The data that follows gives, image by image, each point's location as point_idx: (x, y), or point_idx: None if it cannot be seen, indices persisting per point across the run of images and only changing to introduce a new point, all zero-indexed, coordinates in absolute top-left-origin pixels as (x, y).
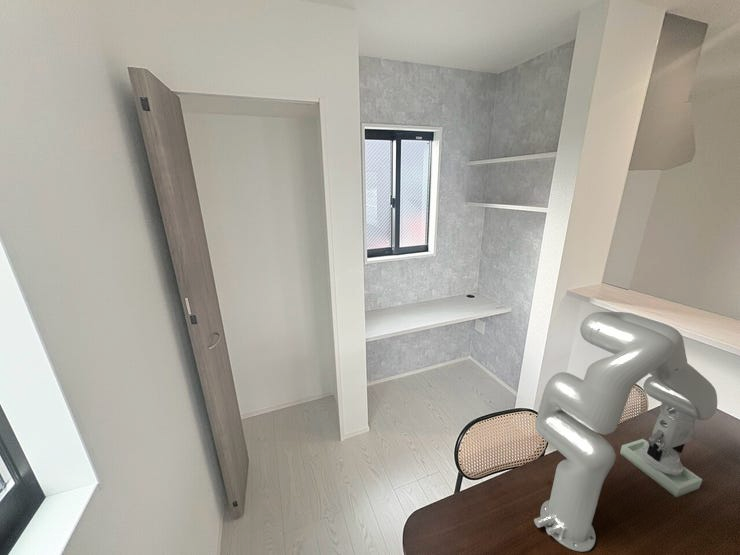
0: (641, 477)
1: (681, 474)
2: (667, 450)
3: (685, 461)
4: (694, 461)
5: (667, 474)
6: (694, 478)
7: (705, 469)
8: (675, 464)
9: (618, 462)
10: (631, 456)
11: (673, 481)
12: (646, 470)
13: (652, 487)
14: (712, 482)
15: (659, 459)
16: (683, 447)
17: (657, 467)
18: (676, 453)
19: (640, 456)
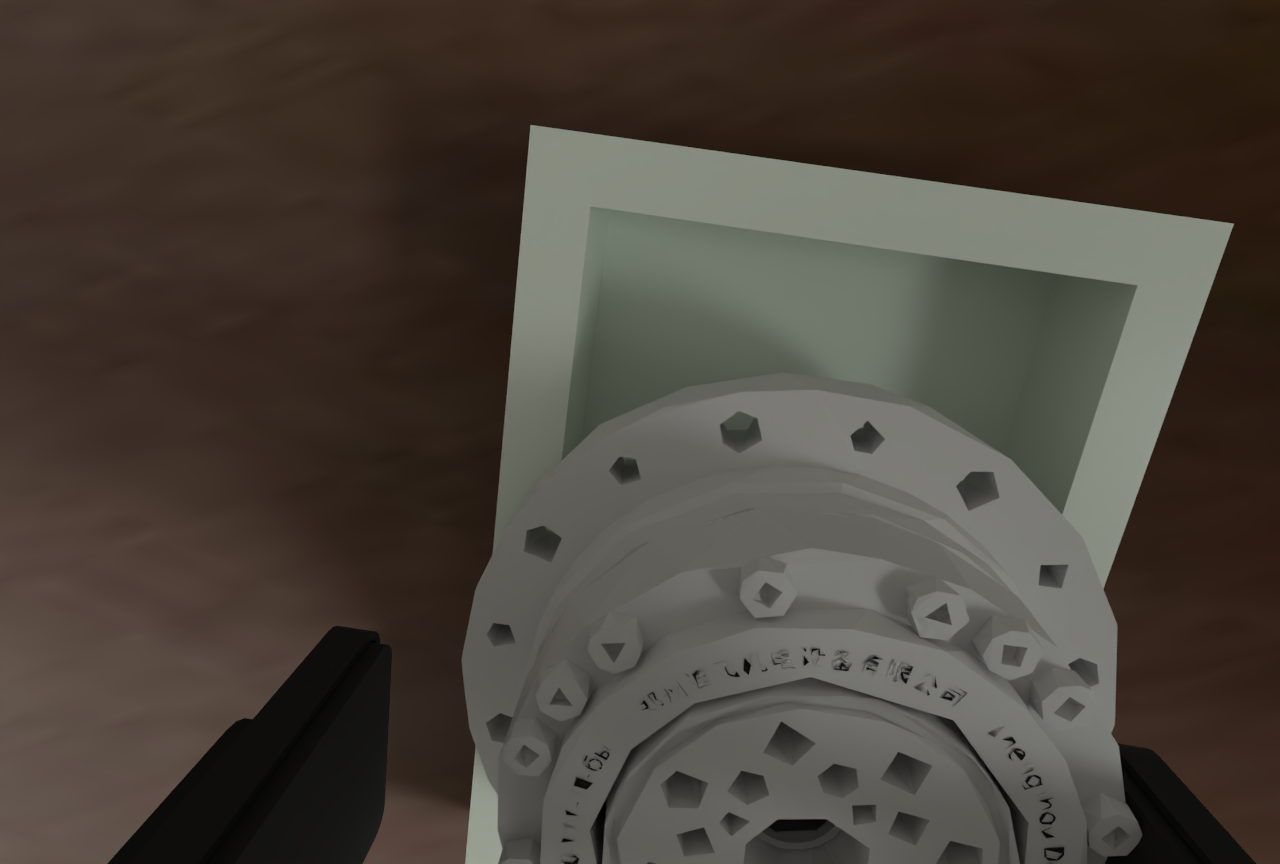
0: (1120, 600)
1: (587, 374)
2: (680, 828)
3: (200, 455)
4: (75, 399)
5: None
6: (648, 209)
7: (79, 266)
8: (896, 538)
9: None
10: None
11: (1121, 355)
12: None
13: (1195, 459)
14: (248, 110)
15: (1182, 787)
16: (239, 738)
17: (1110, 640)
18: (579, 695)
19: None
